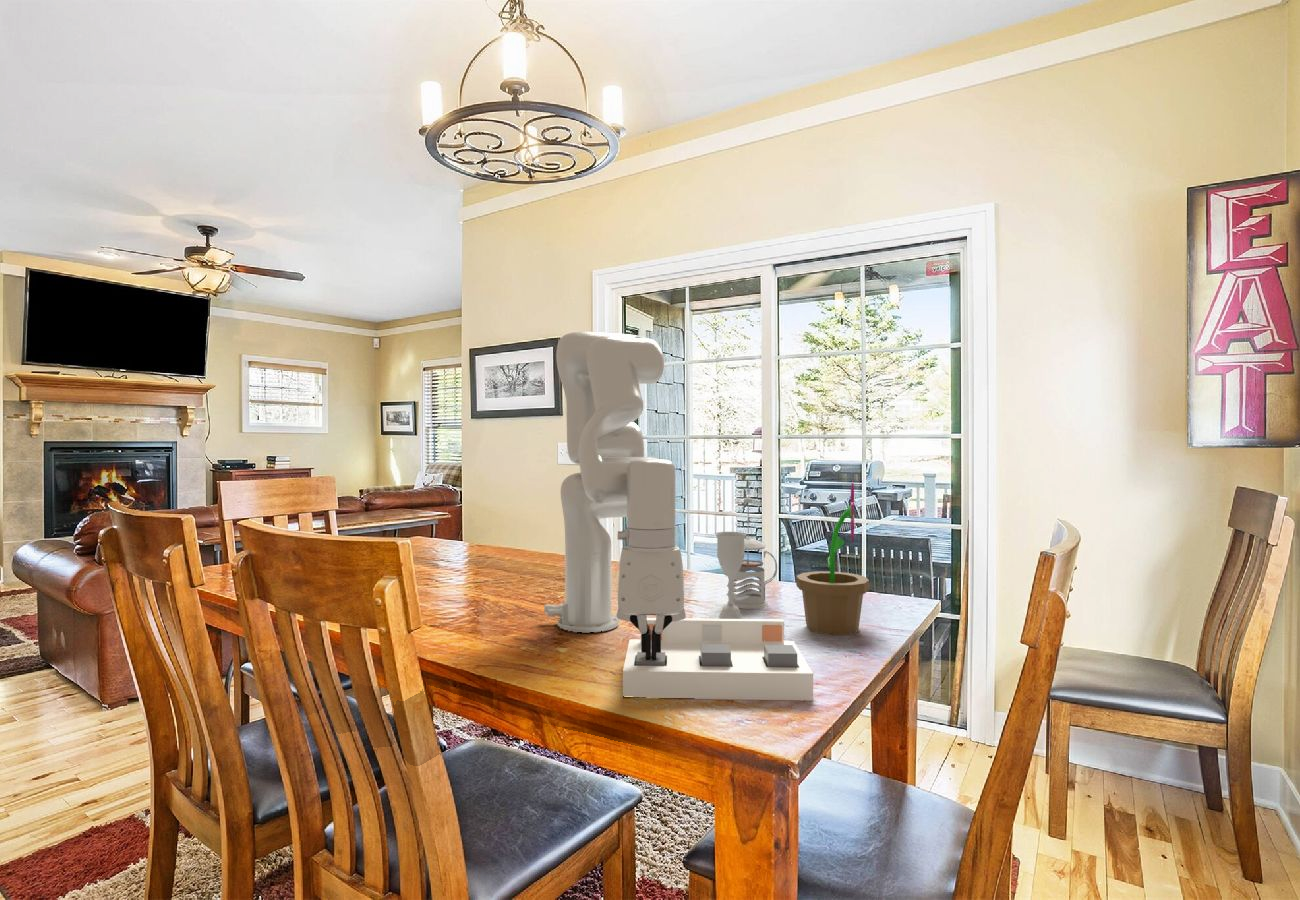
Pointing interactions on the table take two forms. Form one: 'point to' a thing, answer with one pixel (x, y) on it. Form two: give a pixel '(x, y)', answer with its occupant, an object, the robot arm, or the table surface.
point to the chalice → (730, 566)
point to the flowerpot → (833, 591)
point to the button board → (704, 682)
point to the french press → (751, 596)
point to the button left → (643, 662)
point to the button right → (780, 656)
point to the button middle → (715, 655)
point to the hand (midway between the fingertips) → (651, 656)
